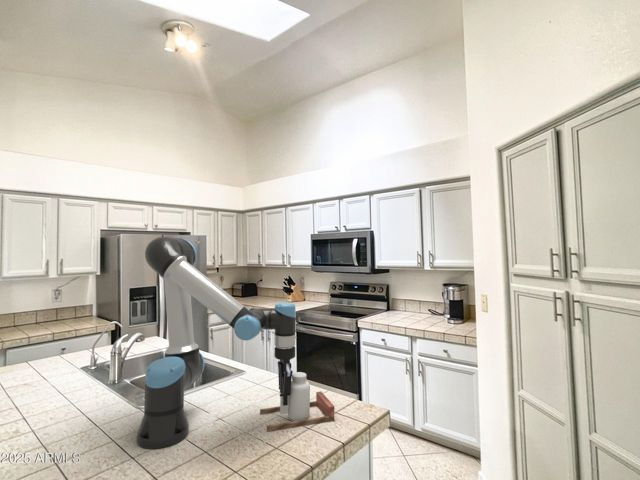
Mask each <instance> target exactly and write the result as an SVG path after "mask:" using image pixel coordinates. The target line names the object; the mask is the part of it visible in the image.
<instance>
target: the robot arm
mask: <svg viewBox="0 0 640 480" xmlns="http://www.w3.org/2000/svg"><path fill="white" fill-rule="evenodd" d="M197 253H198V252H197V249H196V247H195V246H194V244H193V243H191V242H190V241H189V240H186V239H183V238H181V237H179V238H177V237H170V236H160V237H156V238H154V239H152V240H151V241H150V242H149V243H148V244H147V246H146V247H145V251H144V257H145V261H146V263H147V264H148V266H149V267H150V268H151V269H152V270H153V271H154V272H156V273H157V274H158V275H159V277H160V278H161V279H163V280H164V291H165V293H164V295H165V305H166V306H165V308H166V318H167V319H166V321H167V323H166V325H167V334H168V336H167V337H168V347H166V349H165V351H164V357H162V358H160V359H159V358H157V359H156V360H154V361H152V362H150V364H148V365H147V367H146V369H145V376H144V404H143V405H144V409H143V411H144V413H143V417H142V419H141V422H140V425H139V428H138V431H137V434H136V443H137V445H138V446H140V448H141V447H142V448H143V449H150V450H151V449H152V450H153V449H154V450H155V449H156V450H157V449H162V448H167V447H170V446H173V445H176V444H178V443H179V442H182V441H183V440H184V439H185V438H187V436H188V435H189V431H190V429H189V428H190V424H189V421H188V418H187V414H186V411H185V408H184V406H185V391H186V390H187V389H188V388H189V387H190V386H191V385H192V384H194V383H195V382H196V381H197V380H198V379H199V378H200V377H201V376H202V373H203V372H204V370H205V365H206V363H205V357H204V356H203V354H202V353H201V352H200V347H199V344H197V342H195V334H194V322H193V321H194V320H193V309H192V298H193V299H195V300H197V301H198V302H199V303H200V304H202V305H203V306H204V307H205V308H206V309H208V310H210V312H212V313H213V314H215V316H217V317H218V318H219V319H221V320H222V321H223V322H225V323H226V324H227V325H228V326H230V328H232V329H233V331H234V334H235V336H236V337H237V338H238V339H240V341H250V340H253V339H254V338H256V337H257V336H258V335H260V332H262V331H263V330H267V331H269V330H271V331H272V330H274V346H275V347H274V355H273V356H274V358H275V359H276V360H278V361H277V369H278V371H277V375H278V376H277V377H278V390H279V399H280V400H279V401H280V402H279V406H280V412H279V413H280V415H286V414H287V415H288V407H289V396H290V394H291V381H292V374H293V373H294V372H293V370H292V363H291V360H292V359H294V358H295V357H296V346H295V345H296V340H297V338H298V337H297V336H296V330H297V329H296V327H297V326H296V325H297V323H296V322H297V320H296V319H297V316H296V315H297V314H296V305H295V304H294V303H292V302H277V303H275V305H274V308H261V307H260V308H255V307H251V308H249V307H248V308H247V307H245V305H243V304H242V303H241V302H239V301H238V300H237V299H236V298H234V297H233V296H232V295H230V294H229V293H228V292H227V291H225V290H224V289H222V288H221V287H220V286H219V285H217V284H216V283H215V282H214V281H213V280H211V279H210V278H209V277H207V276H206V275H205V274H203V273H202V272H201V271H200V270H198V269H197V267H195V266H194V264H195V262H196V261H197Z"/></svg>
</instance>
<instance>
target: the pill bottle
mask: <svg viewBox="0 0 640 480" xmlns="http://www.w3.org/2000/svg"><path fill="white" fill-rule="evenodd" d="M310 397H311V385H310V382H309V381H308V379H307V373H305V372H302V371H297V372H293V373H292V379H291V394H290V396H289V407H288V414H287V417H288V418H289V420H292V421H299V420H305V419H309V417H310V409H311V407H310V402H311V401H310V400H311V399H310Z"/></svg>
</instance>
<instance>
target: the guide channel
mask: <svg viewBox="0 0 640 480" xmlns="http://www.w3.org/2000/svg"><path fill="white" fill-rule="evenodd" d="M315 399H316V400H314V401H310V408H312V407H317V408H318V409H319V411H320V412H321V413H322V414H323V416H320V417H319V416H318V417H313V418H307V419H305V420H299V421H295V420H292V421H289V422H288V421H287V422H281V423H275V424H268V425H266V433H267V432H274V431H280V430H285V429H291V428H297V427H304V426H311V425H315V424H322V423H329V422H334V421H335V405H334V404H333V403H332V401H331V400H330V399H329V398H328V397H327V396H326V395H325V394H324V393H323V392H322V391H317V392H316V395H315ZM273 413H280V405H279V406H273V407H265V408H260V409H259V414H260V415H265V414H266V415H268V414H273Z"/></svg>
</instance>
